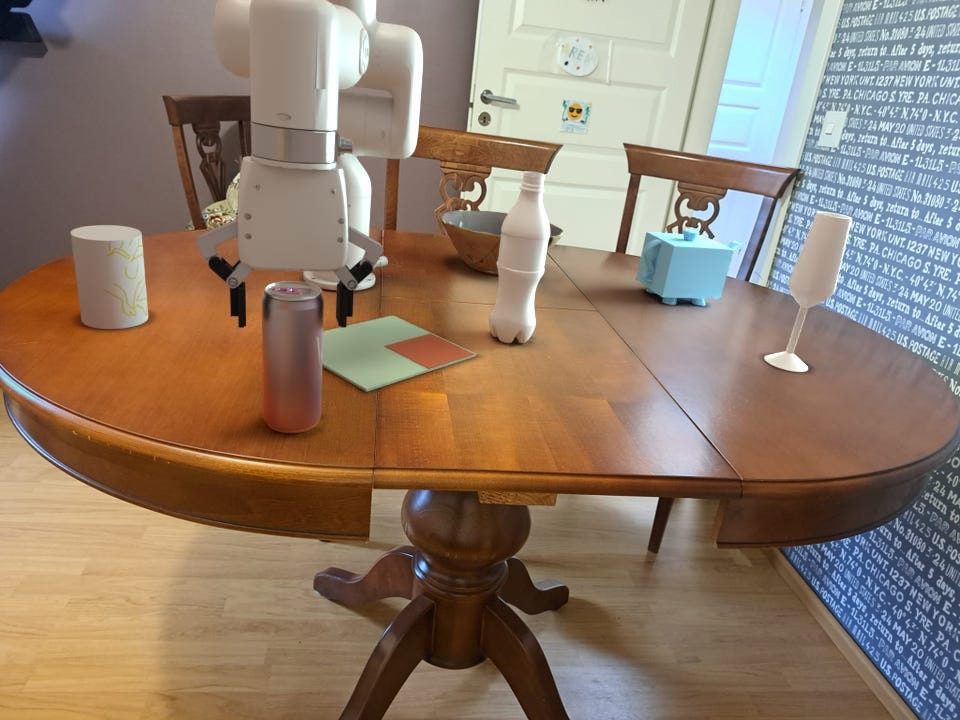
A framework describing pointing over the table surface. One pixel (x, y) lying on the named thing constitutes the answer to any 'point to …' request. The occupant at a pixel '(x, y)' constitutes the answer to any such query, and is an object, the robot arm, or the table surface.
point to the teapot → (684, 266)
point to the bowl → (482, 237)
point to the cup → (110, 276)
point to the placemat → (386, 352)
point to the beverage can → (292, 355)
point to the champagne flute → (814, 277)
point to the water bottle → (521, 262)
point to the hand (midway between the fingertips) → (292, 322)
